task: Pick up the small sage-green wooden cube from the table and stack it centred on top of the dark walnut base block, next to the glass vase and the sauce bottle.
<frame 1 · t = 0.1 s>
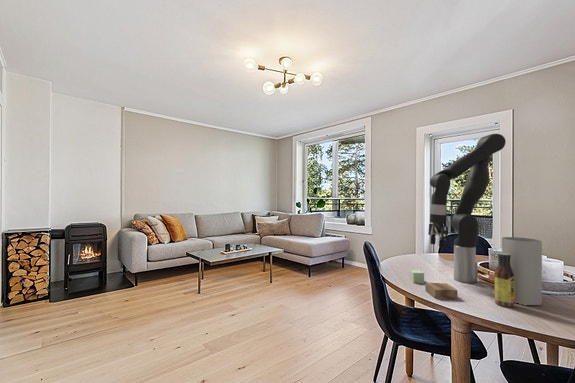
hand: (437, 245, 141), 17 cm above the table, tool pointing down, fingers open, 8 cm apart
cylinder vase: (521, 301, 114), on the table
sauce bottle: (504, 305, 110), on the table
green cube: (416, 281, 138), on the table
walnut base: (440, 295, 120), on the table
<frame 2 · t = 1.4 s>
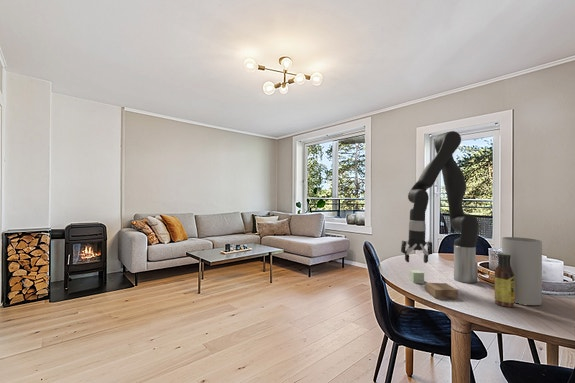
hand: (416, 262, 138), 9 cm above the table, tool pointing down, fingers open, 8 cm apart
nothing on the table moved.
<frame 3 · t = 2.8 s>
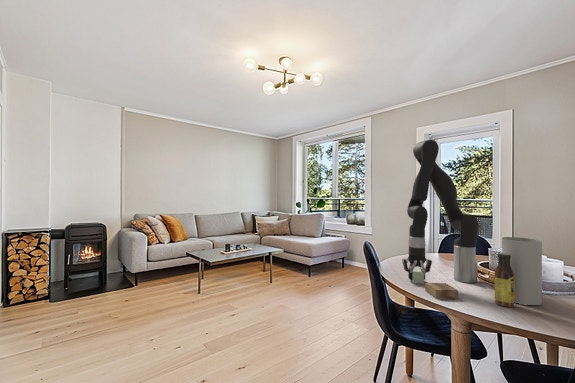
hand: (416, 280, 138), 1 cm above the table, tool pointing down, fingers closed on green cube, 5 cm apart
green cube: (416, 281, 138), on the table, touching gripper
everything else where it was.
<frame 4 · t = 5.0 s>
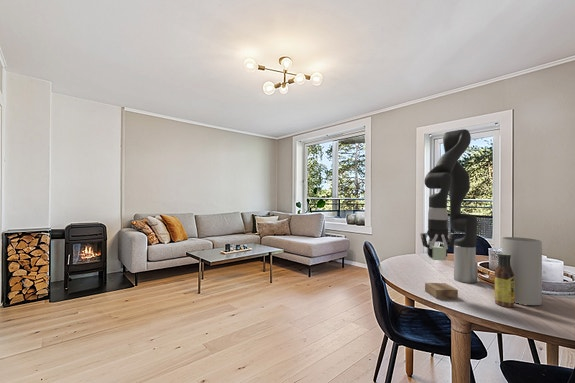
hand: (437, 257, 122), 16 cm above the table, tool pointing down, fingers closed on green cube, 5 cm apart
green cube: (437, 258, 122), point 15 cm above the table, touching gripper
everything else where it was.
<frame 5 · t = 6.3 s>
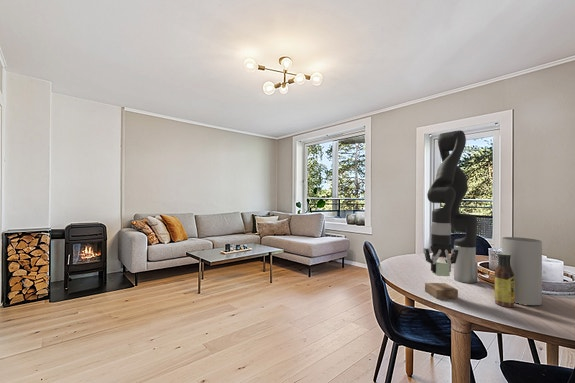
hand: (440, 272, 120), 9 cm above the table, tool pointing down, fingers closed on green cube, 5 cm apart
green cube: (440, 274, 120), point 9 cm above the table, touching gripper
everything else where it was.
when the fingers open (6 cm above the table, at t = 7.4 s): green cube drops 1 cm, point 4 cm above the table.
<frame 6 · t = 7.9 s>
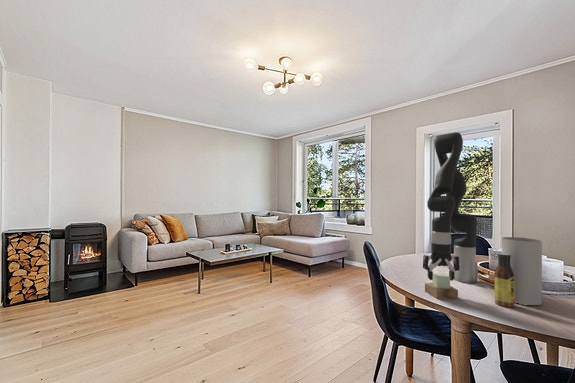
hand: (440, 279, 120), 6 cm above the table, tool pointing down, fingers open, 8 cm apart
green cube: (441, 286, 120), point 4 cm above the table
everything else where it was.
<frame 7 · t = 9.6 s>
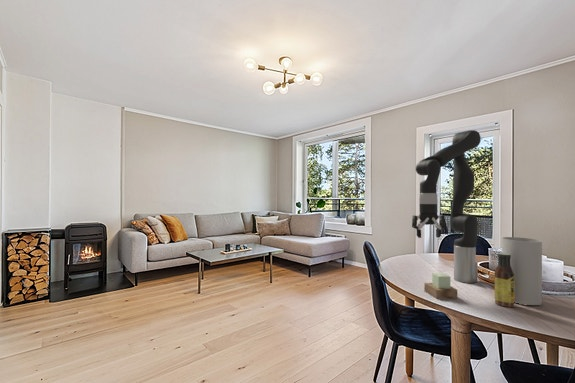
hand: (428, 237, 131), 23 cm above the table, tool pointing down, fingers open, 8 cm apart
nothing on the table moved.
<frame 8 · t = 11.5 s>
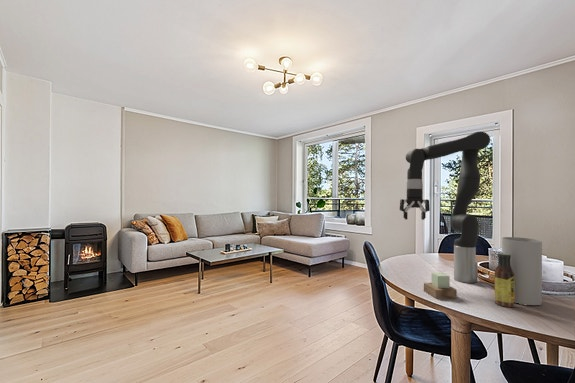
hand: (414, 219, 144), 30 cm above the table, tool pointing down, fingers open, 8 cm apart
nothing on the table moved.
at the end: green cube 0.6 cm off-centre on the walnut base, point 4.0 cm above the walnut base's base; green cube tilted 1°; the gripper is holding nothing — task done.
